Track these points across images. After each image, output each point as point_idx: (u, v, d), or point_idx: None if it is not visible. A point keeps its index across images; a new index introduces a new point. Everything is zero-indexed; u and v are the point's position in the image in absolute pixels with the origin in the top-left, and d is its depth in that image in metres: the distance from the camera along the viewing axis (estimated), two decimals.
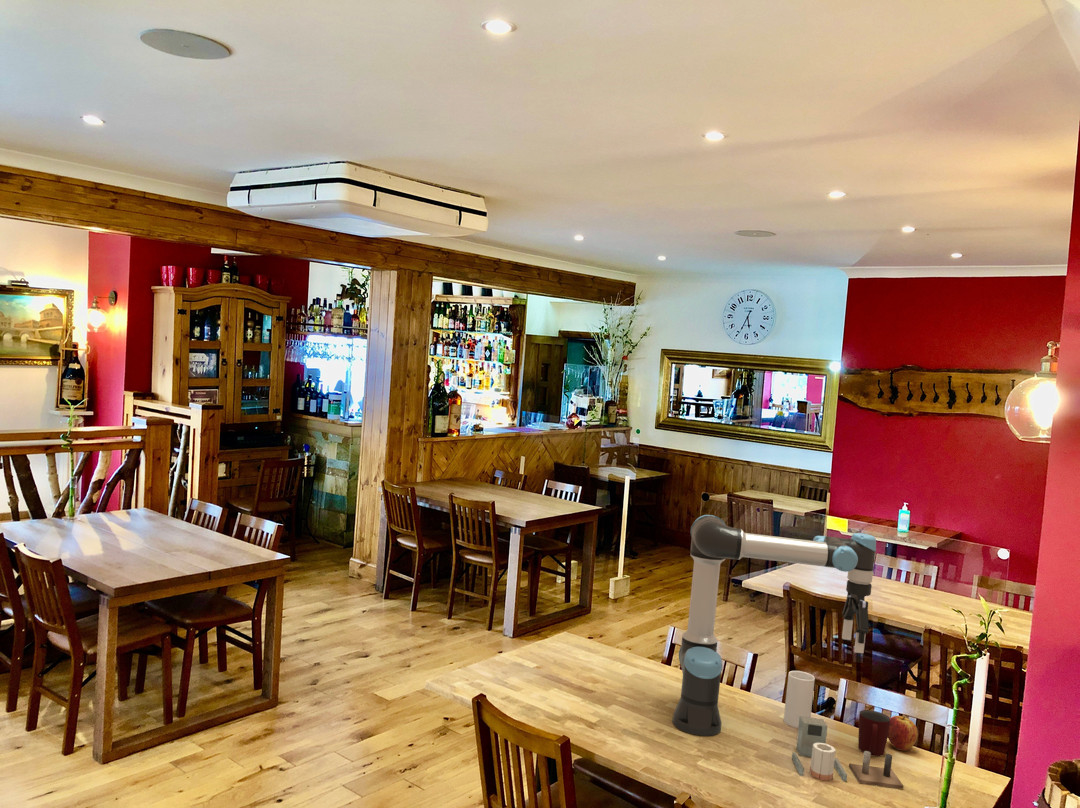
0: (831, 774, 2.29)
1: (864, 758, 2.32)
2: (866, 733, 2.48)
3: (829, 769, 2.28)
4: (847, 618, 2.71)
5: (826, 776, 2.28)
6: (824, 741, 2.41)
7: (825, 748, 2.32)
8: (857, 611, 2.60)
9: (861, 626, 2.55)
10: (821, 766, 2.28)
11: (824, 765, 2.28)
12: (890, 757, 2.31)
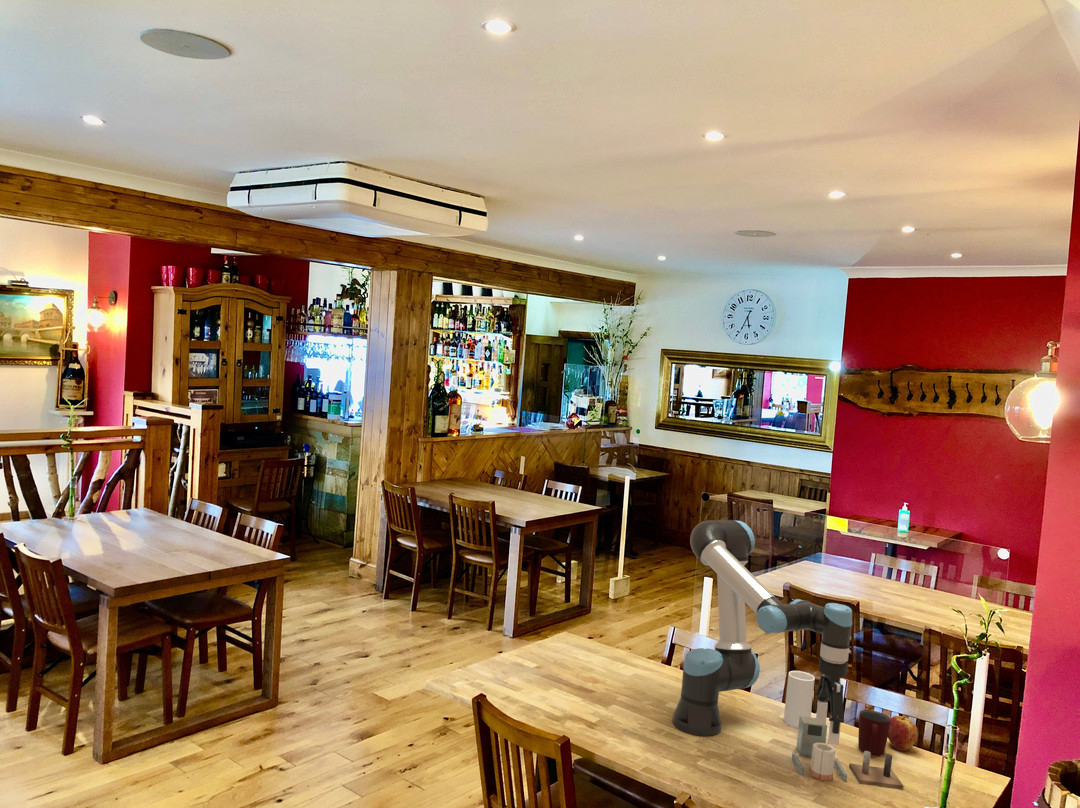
0: (831, 774, 2.29)
1: (864, 758, 2.32)
2: (866, 733, 2.48)
3: (829, 769, 2.28)
4: (821, 700, 2.37)
5: (826, 776, 2.28)
6: (824, 741, 2.41)
7: (825, 748, 2.32)
8: (831, 695, 2.26)
9: (835, 714, 2.21)
10: (821, 766, 2.28)
11: (824, 765, 2.28)
12: (890, 757, 2.31)
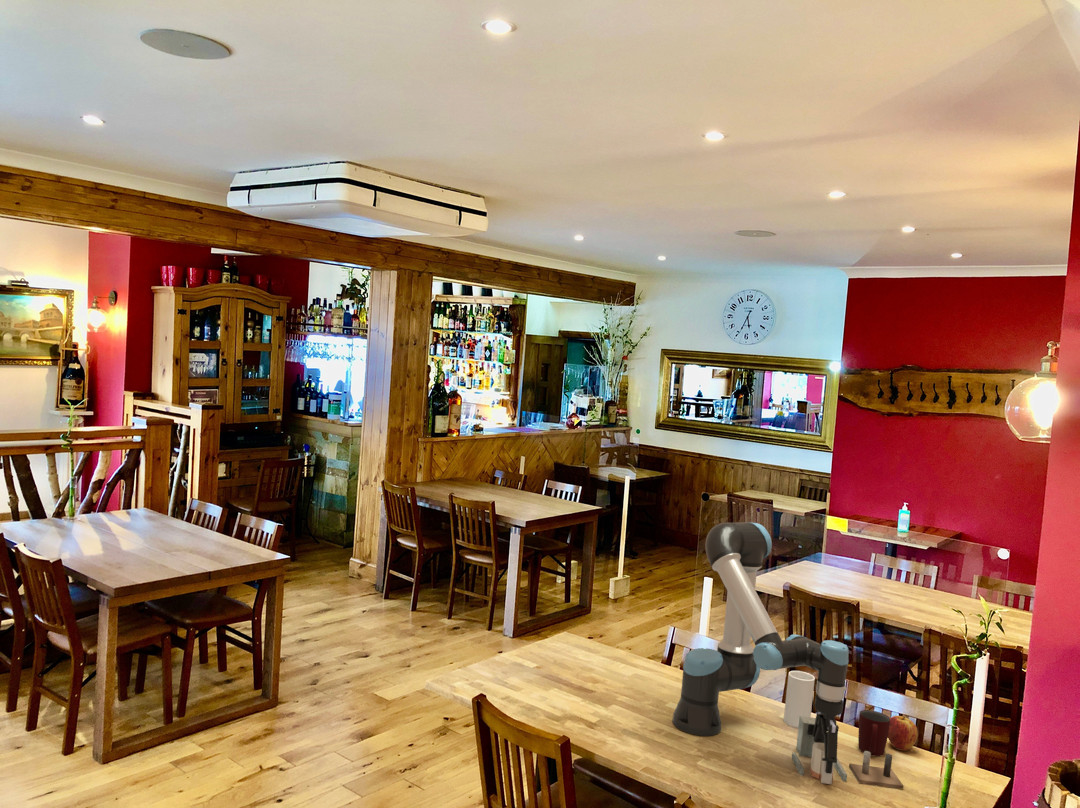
0: None
1: (864, 758, 2.32)
2: (866, 733, 2.48)
3: None
4: (818, 741, 2.36)
5: None
6: None
7: None
8: (826, 734, 2.27)
9: (828, 755, 2.23)
10: (821, 766, 2.28)
11: None
12: (890, 757, 2.31)
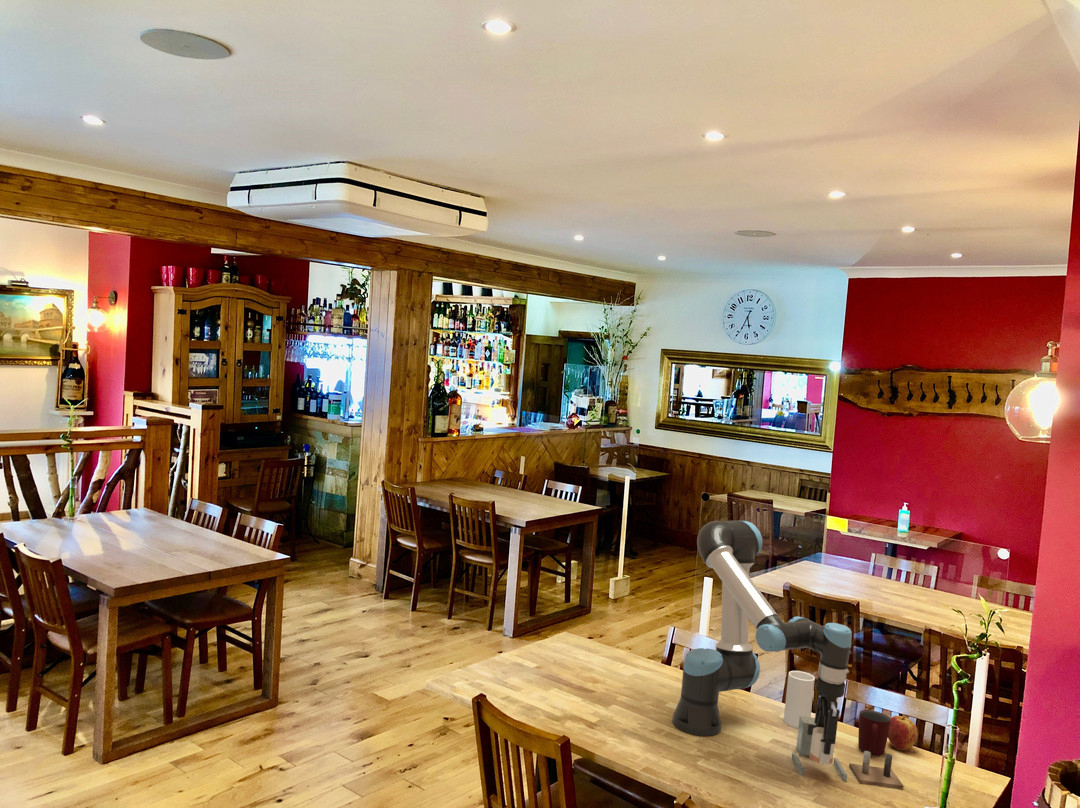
0: (831, 758, 2.29)
1: (864, 758, 2.32)
2: (866, 733, 2.48)
3: None
4: None
5: None
6: None
7: None
8: (826, 716, 2.28)
9: (827, 737, 2.24)
10: None
11: None
12: (890, 757, 2.31)
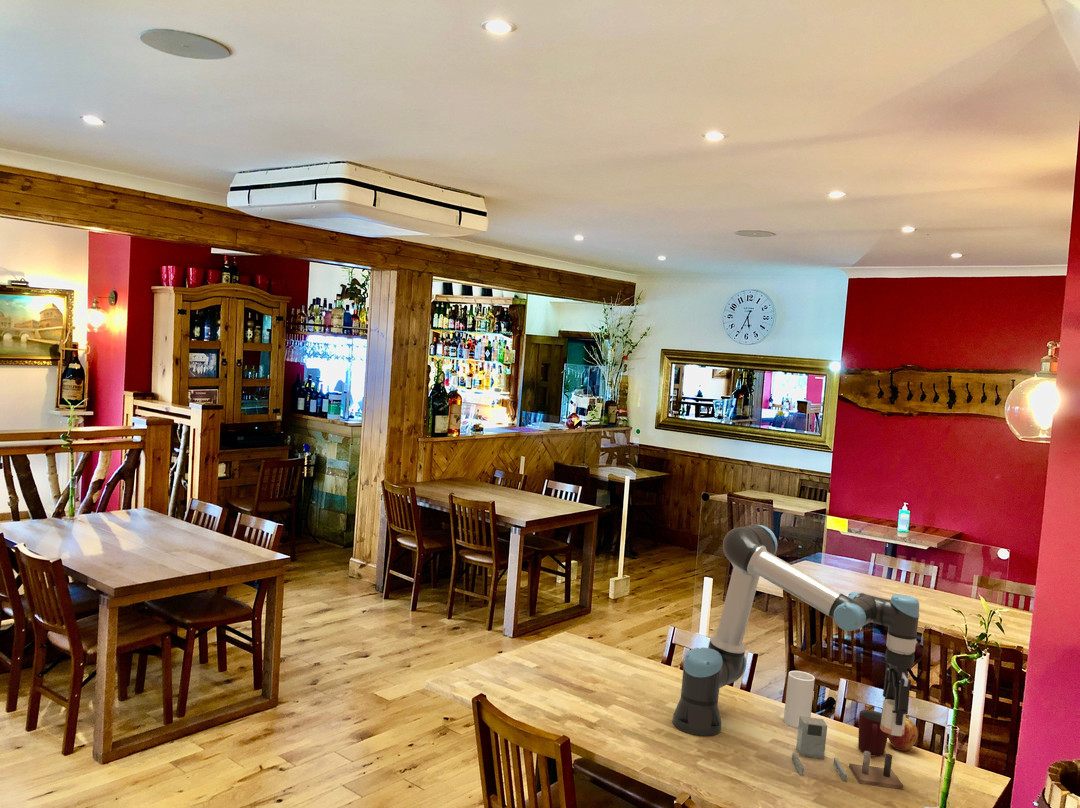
0: (902, 730, 2.29)
1: (864, 758, 2.32)
2: (866, 733, 2.48)
3: None
4: None
5: None
6: (824, 741, 2.41)
7: None
8: (897, 687, 2.28)
9: (899, 707, 2.25)
10: None
11: None
12: (890, 757, 2.31)
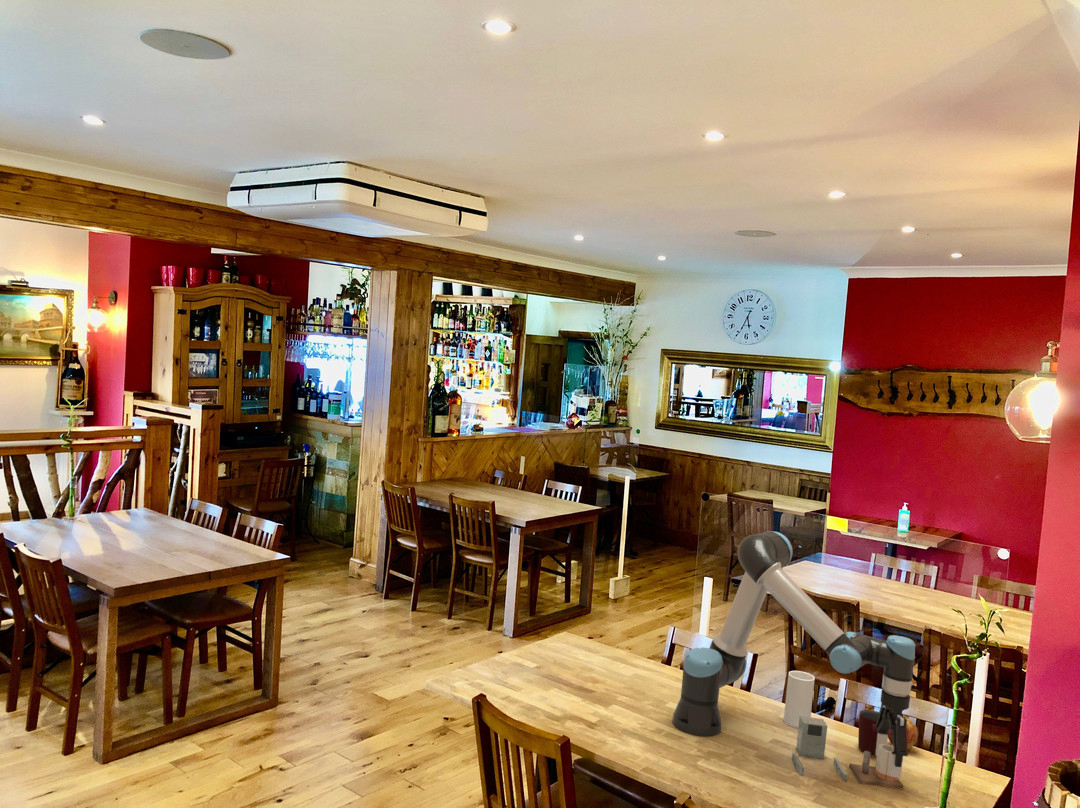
0: None
1: (864, 758, 2.32)
2: (866, 733, 2.48)
3: None
4: (881, 732, 2.38)
5: (892, 777, 2.29)
6: (824, 741, 2.41)
7: (890, 749, 2.34)
8: (893, 728, 2.28)
9: (898, 748, 2.23)
10: (887, 767, 2.29)
11: (890, 766, 2.29)
12: None
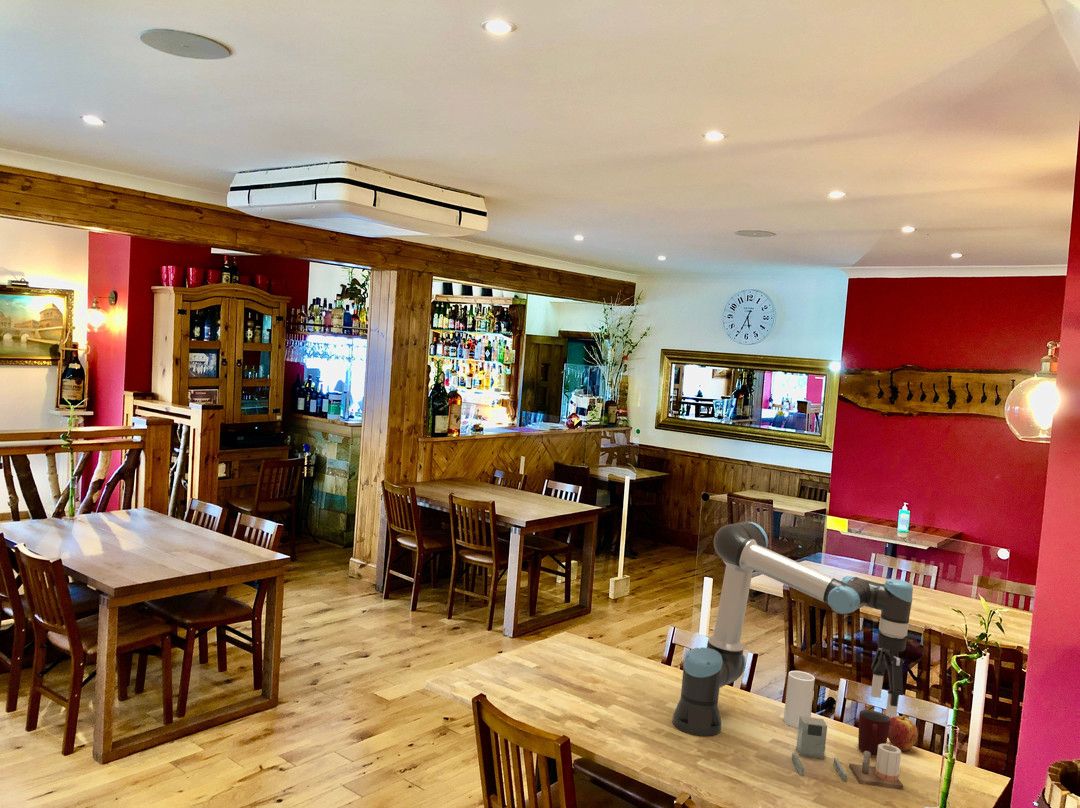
0: (897, 775, 2.30)
1: (864, 758, 2.32)
2: (866, 733, 2.48)
3: (895, 770, 2.29)
4: (877, 673, 2.41)
5: (892, 777, 2.29)
6: (824, 741, 2.41)
7: (890, 749, 2.34)
8: (890, 668, 2.29)
9: (894, 687, 2.24)
10: (887, 767, 2.29)
11: (890, 766, 2.29)
12: None
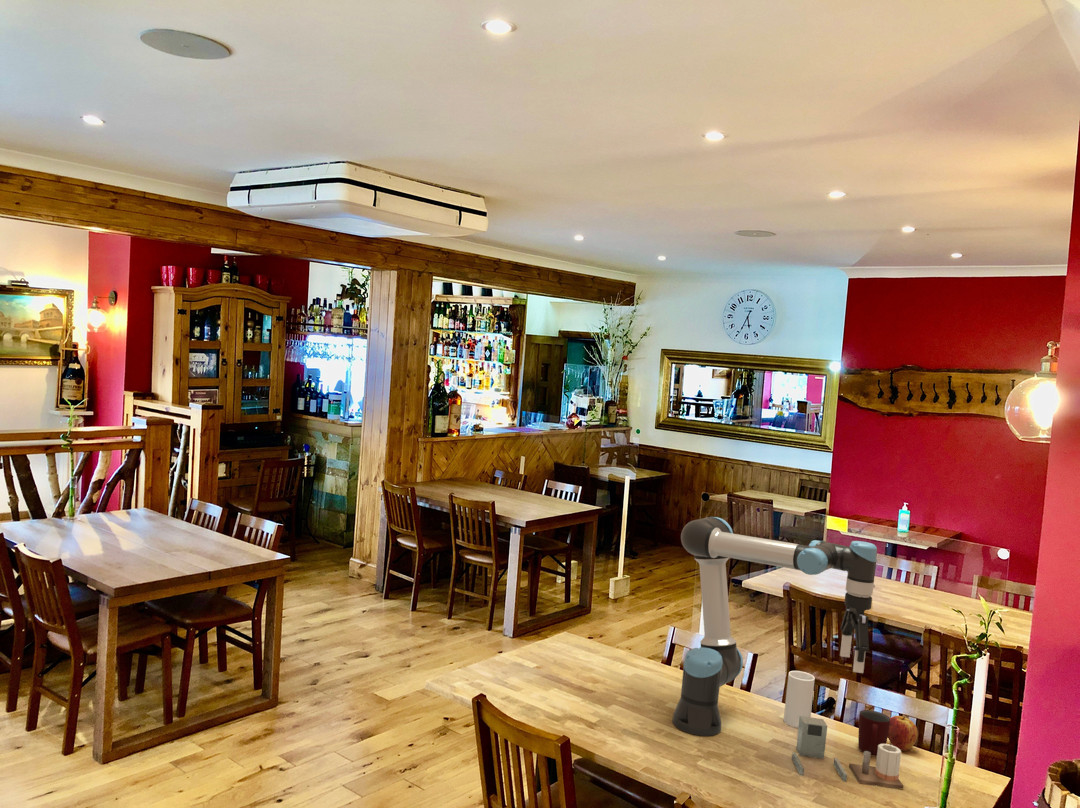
0: (897, 775, 2.30)
1: (864, 758, 2.32)
2: (866, 733, 2.48)
3: (895, 770, 2.29)
4: (846, 633, 2.49)
5: (892, 777, 2.29)
6: (824, 741, 2.41)
7: (890, 749, 2.34)
8: (856, 627, 2.38)
9: (860, 643, 2.33)
10: (887, 767, 2.29)
11: (890, 766, 2.29)
12: None
